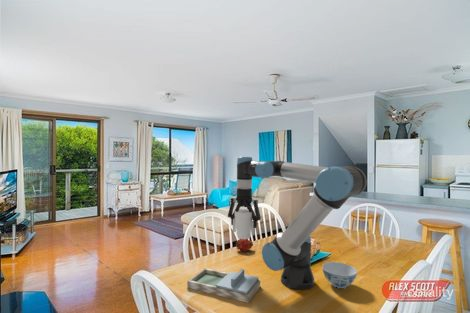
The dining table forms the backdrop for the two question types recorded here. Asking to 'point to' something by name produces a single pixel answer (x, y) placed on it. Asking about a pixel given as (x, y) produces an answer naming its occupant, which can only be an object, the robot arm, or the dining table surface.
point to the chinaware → (339, 274)
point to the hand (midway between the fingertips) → (243, 232)
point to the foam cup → (243, 223)
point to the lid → (237, 282)
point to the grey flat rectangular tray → (208, 282)
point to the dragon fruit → (244, 244)
